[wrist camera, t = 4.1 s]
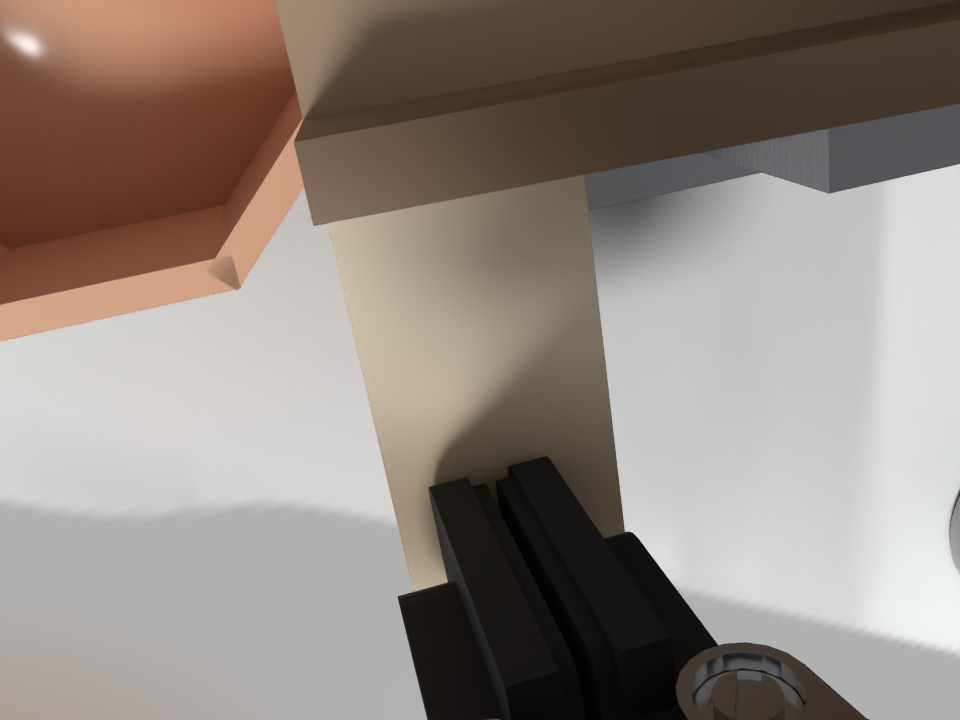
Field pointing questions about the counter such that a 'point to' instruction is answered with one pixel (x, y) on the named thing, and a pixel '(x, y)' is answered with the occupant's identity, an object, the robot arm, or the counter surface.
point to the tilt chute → (543, 192)
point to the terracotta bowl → (138, 153)
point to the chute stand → (799, 159)
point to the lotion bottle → (955, 535)
